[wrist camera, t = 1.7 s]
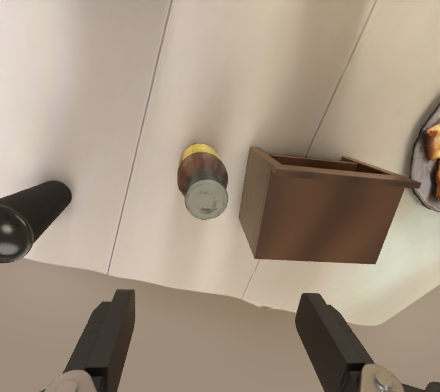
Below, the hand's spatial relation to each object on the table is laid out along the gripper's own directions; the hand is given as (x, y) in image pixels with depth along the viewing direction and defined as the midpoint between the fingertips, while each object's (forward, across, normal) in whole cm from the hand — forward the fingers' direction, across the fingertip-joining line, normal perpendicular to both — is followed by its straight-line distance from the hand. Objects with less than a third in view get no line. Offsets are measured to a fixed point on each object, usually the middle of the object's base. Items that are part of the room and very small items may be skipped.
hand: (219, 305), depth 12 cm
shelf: (+32, -17, +4) cm, 36 cm away
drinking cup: (+32, +23, +8) cm, 40 cm away
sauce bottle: (+32, 0, 0) cm, 32 cm away
